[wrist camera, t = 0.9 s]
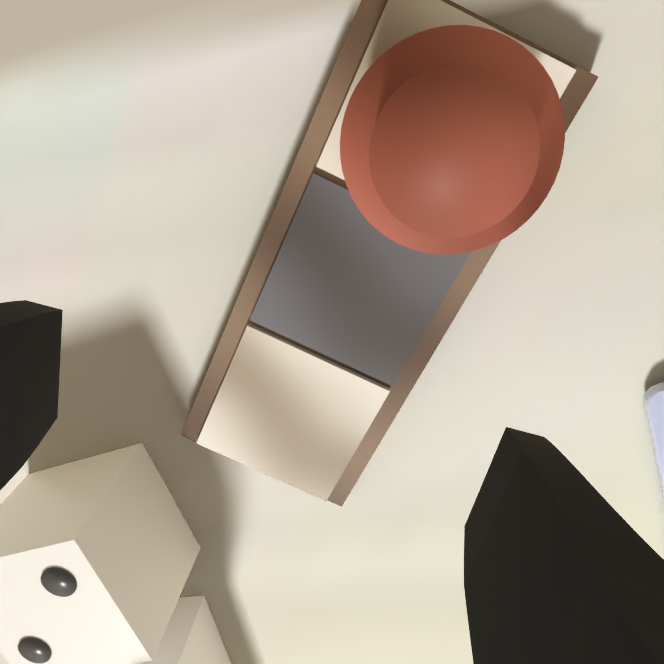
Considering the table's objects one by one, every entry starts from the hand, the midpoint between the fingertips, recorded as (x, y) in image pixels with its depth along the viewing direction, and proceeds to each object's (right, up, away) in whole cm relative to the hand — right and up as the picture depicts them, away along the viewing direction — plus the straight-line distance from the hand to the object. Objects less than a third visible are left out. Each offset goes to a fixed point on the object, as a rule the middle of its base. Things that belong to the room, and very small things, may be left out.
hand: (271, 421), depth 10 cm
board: (+2, +3, +9) cm, 10 cm away
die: (-7, -5, +14) cm, 17 cm away
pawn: (+4, +7, +6) cm, 10 cm away
